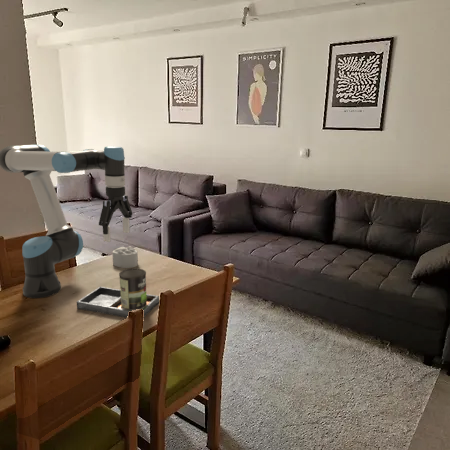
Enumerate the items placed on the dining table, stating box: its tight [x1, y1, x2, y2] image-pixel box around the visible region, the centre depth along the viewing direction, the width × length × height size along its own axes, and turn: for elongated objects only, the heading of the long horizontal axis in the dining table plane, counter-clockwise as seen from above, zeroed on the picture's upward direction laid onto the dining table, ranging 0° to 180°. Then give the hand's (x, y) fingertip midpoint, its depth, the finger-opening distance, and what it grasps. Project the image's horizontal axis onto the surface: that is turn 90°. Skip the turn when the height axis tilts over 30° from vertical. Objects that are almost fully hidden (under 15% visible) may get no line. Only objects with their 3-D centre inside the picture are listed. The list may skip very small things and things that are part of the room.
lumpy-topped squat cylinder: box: [111, 245, 139, 269], centre depth 202 cm, size 10×13×9 cm
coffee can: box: [118, 267, 147, 310], centre depth 154 cm, size 10×10×14 cm
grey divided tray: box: [76, 286, 160, 318], centre depth 157 cm, size 28×16×3 cm, turn 73°
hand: (117, 236), depth 159 cm, fingers open, 13 cm apart
